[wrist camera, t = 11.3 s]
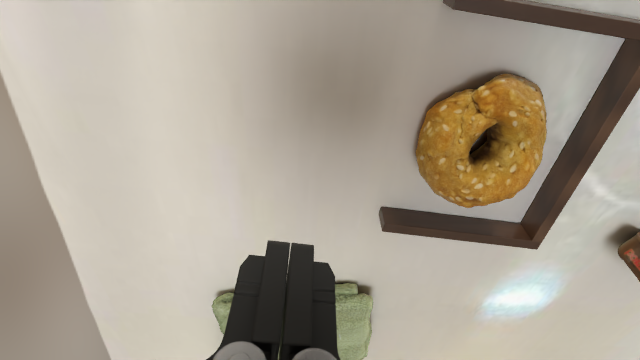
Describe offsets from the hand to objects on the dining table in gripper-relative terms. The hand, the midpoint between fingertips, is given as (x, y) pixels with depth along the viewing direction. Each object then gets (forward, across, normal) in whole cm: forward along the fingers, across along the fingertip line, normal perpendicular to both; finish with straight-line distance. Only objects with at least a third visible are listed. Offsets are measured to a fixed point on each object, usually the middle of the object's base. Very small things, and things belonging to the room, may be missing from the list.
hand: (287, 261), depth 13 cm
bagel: (+20, -15, +3) cm, 25 cm away
